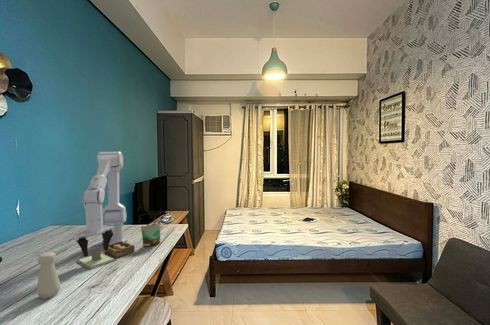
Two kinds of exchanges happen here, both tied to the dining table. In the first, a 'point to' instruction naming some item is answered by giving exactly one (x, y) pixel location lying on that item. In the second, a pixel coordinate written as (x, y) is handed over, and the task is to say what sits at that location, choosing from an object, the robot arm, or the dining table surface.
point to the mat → (95, 266)
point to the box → (119, 249)
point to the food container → (151, 234)
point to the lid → (96, 259)
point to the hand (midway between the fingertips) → (95, 252)
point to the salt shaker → (47, 276)
